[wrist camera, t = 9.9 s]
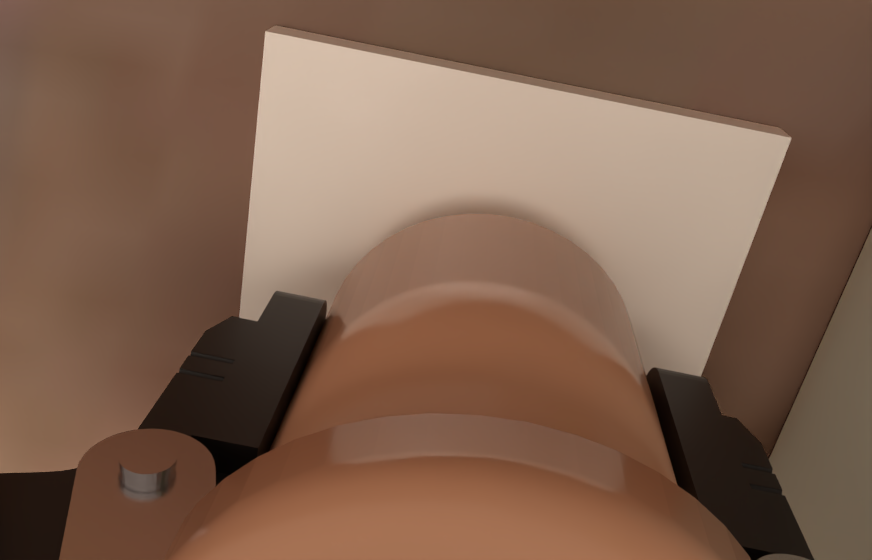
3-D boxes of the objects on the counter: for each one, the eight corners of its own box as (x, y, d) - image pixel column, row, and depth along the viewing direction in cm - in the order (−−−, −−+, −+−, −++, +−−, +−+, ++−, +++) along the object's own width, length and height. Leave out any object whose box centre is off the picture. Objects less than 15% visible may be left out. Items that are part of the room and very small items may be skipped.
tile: (779, 127, 13) (791, 138, 12) (634, 518, 16) (638, 540, 16) (276, 25, 13) (265, 30, 12) (235, 439, 16) (226, 458, 16)
